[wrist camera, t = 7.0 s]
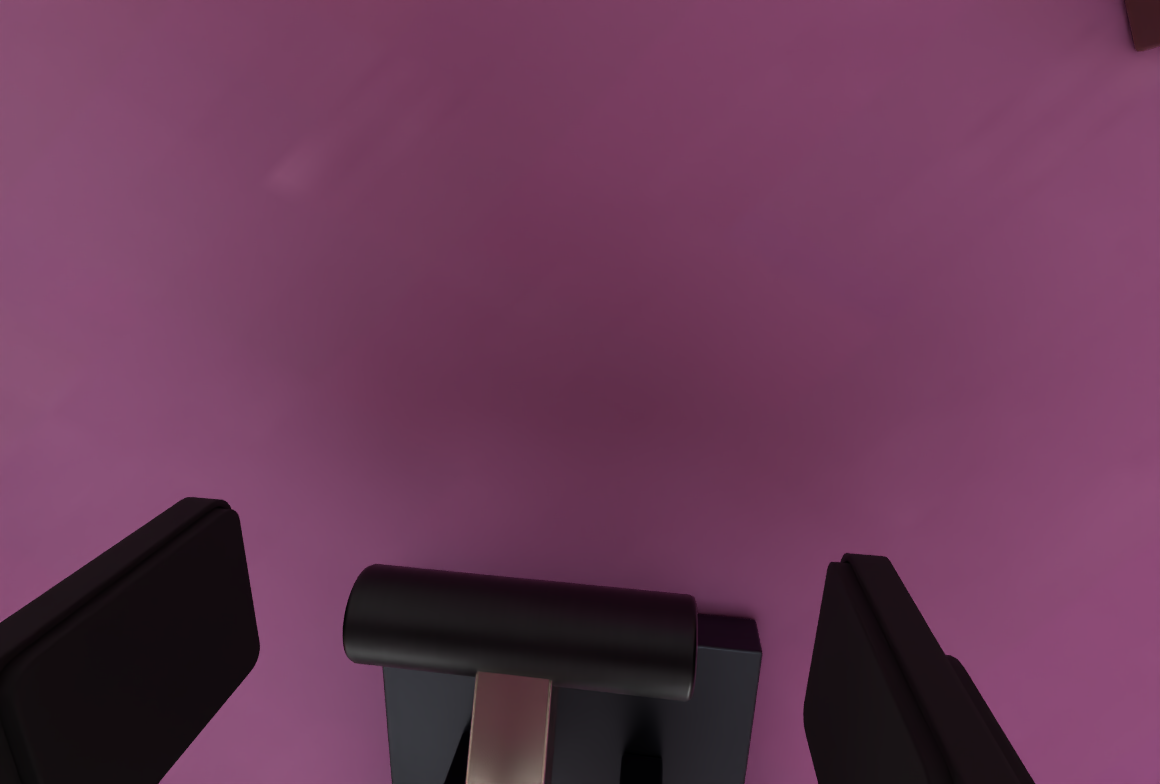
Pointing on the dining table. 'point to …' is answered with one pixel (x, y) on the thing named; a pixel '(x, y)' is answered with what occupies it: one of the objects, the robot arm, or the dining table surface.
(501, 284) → the dining table surface
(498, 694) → the switch lever
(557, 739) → the switch bracket
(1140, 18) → the button block
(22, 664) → the robot arm
